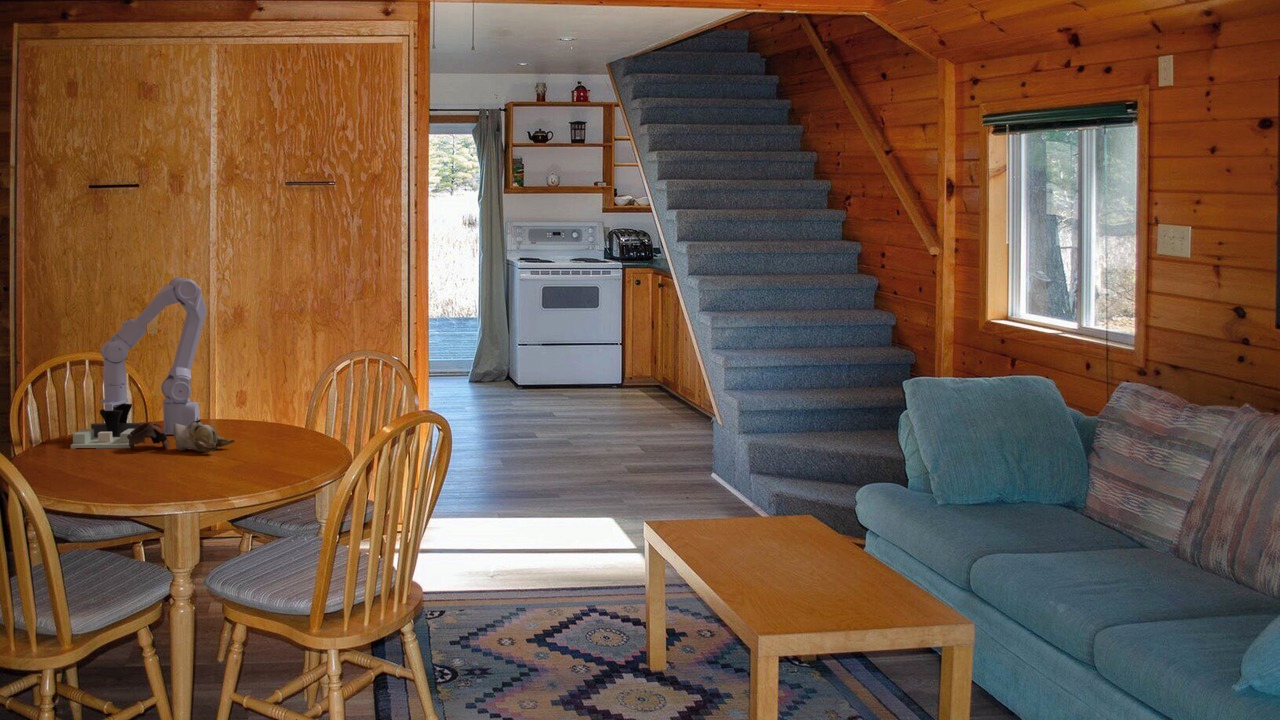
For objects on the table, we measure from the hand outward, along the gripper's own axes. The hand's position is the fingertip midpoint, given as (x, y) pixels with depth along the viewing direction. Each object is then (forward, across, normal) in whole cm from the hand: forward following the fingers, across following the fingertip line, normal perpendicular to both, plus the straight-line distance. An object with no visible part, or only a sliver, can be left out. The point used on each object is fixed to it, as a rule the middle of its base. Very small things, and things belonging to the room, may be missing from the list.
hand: (117, 432), depth 341 cm
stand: (+2, +11, 0) cm, 11 cm away
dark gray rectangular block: (+1, -3, 0) cm, 3 cm away
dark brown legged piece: (+2, +16, +13) cm, 21 cm away
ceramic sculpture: (+2, +20, +27) cm, 34 cm away
